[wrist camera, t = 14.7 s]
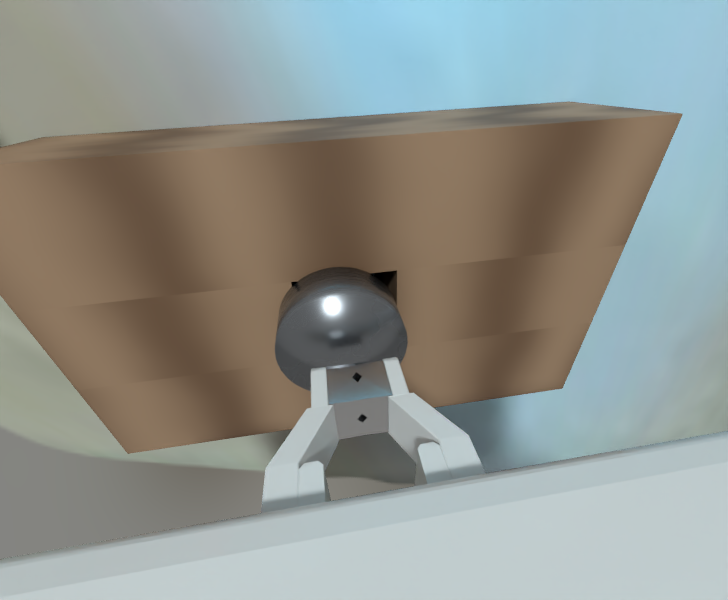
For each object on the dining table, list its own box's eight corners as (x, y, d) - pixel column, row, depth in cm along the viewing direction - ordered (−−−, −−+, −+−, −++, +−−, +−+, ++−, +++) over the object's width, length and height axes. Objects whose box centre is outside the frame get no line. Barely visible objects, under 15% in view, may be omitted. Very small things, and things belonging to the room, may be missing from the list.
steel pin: (374, 211, 18) (411, 288, 11) (374, 290, 21) (404, 387, 14) (279, 218, 17) (262, 302, 11) (292, 297, 20) (285, 402, 14)
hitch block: (569, 101, 16) (682, 113, 11) (510, 324, 24) (562, 388, 19) (42, 137, 14) (-100, 171, 9) (167, 369, 22) (127, 453, 17)
